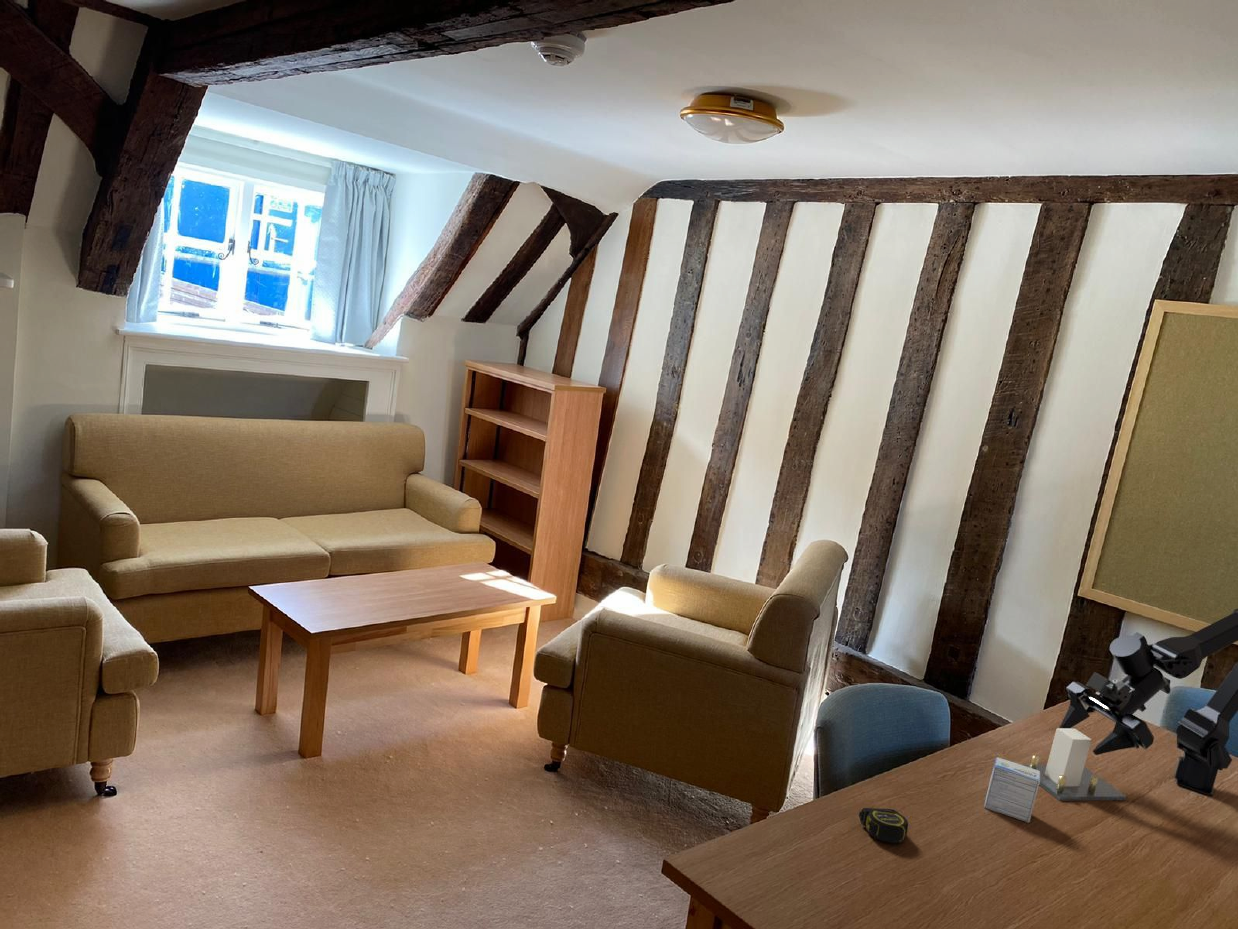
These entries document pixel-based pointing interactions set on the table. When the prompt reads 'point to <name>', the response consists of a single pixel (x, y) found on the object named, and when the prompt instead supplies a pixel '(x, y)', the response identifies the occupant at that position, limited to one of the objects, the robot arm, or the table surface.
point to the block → (1068, 756)
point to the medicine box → (1012, 789)
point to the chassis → (1087, 789)
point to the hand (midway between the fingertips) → (1077, 741)
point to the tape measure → (884, 824)
